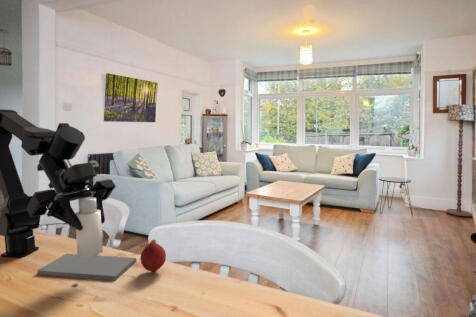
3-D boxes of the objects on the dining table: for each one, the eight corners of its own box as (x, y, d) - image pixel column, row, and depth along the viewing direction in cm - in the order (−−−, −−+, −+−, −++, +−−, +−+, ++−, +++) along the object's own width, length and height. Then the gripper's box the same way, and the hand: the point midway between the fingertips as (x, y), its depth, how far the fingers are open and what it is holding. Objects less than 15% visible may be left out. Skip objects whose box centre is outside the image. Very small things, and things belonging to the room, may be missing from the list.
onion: (159, 279, 73) (158, 245, 72) (136, 276, 74) (135, 243, 73) (170, 267, 78) (169, 236, 78) (148, 266, 80) (147, 235, 79)
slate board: (37, 274, 76) (37, 270, 75) (66, 257, 85) (66, 253, 85) (115, 280, 72) (115, 276, 72) (136, 261, 82) (136, 257, 82)
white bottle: (72, 257, 70) (69, 201, 69) (85, 248, 75) (82, 196, 74) (95, 258, 70) (92, 202, 68) (106, 248, 75) (104, 196, 73)
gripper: (30, 153, 64) (65, 215, 59) (109, 147, 80) (142, 195, 75) (13, 187, 69) (44, 247, 64) (91, 175, 85) (120, 222, 80)
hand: (92, 225), depth 71 cm, fingers closed on white bottle, 5 cm apart
